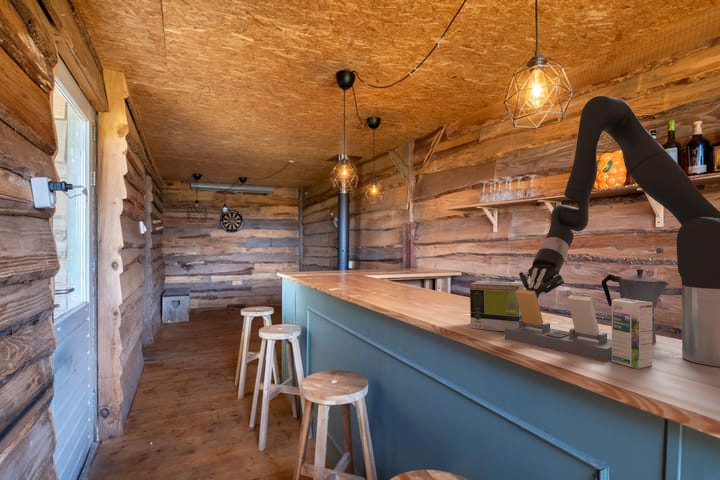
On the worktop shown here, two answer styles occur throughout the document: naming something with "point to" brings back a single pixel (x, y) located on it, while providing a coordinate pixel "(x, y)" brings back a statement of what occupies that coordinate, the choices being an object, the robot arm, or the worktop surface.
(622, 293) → the moka pot
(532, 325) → the toggle
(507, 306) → the tea box
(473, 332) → the worktop surface
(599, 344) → the toggle switch base
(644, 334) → the syrup box
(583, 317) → the toggle
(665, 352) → the worktop surface
